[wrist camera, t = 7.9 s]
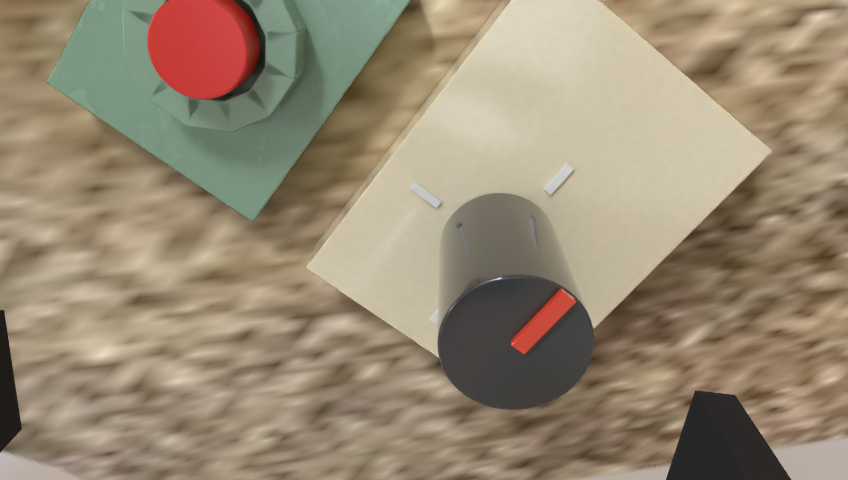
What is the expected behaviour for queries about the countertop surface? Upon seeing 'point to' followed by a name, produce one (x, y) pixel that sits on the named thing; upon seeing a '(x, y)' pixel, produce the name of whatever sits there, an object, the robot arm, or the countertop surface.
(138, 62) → the red push button panel
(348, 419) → the countertop surface
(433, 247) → the hob console
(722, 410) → the robot arm
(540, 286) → the hob knob
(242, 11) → the button
